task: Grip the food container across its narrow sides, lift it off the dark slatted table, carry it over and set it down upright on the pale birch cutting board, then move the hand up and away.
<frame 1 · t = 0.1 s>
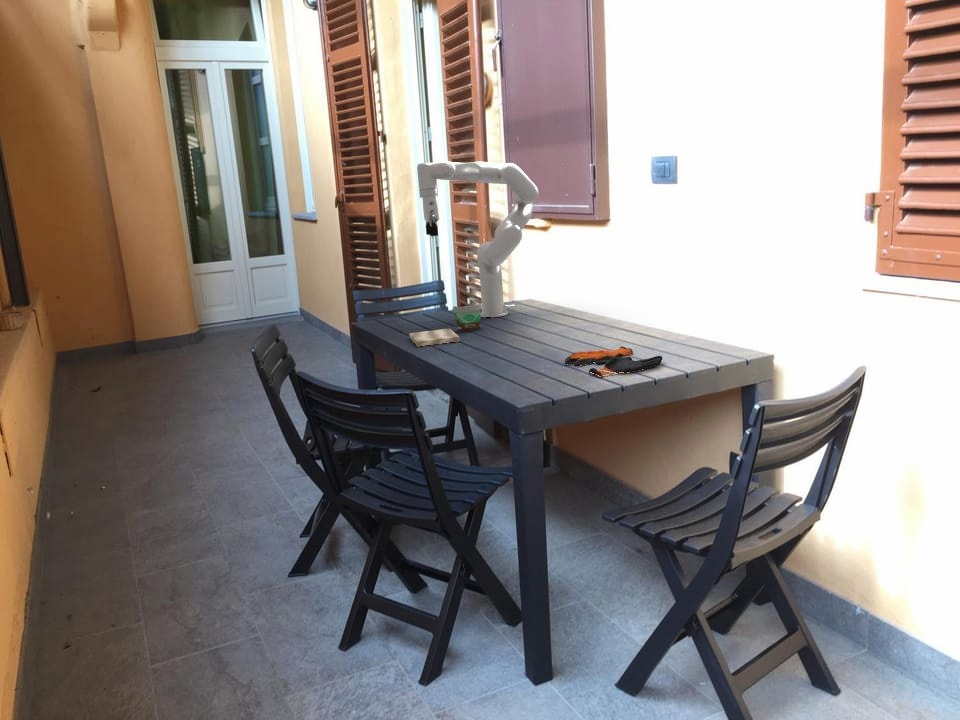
hand: (432, 235, 327), 37 cm above the table, tool pointing down, fingers open, 9 cm apart
food container: (471, 330, 313), on the table
pair of gloves: (612, 365, 244), on the table
birch board: (434, 340, 299), on the table
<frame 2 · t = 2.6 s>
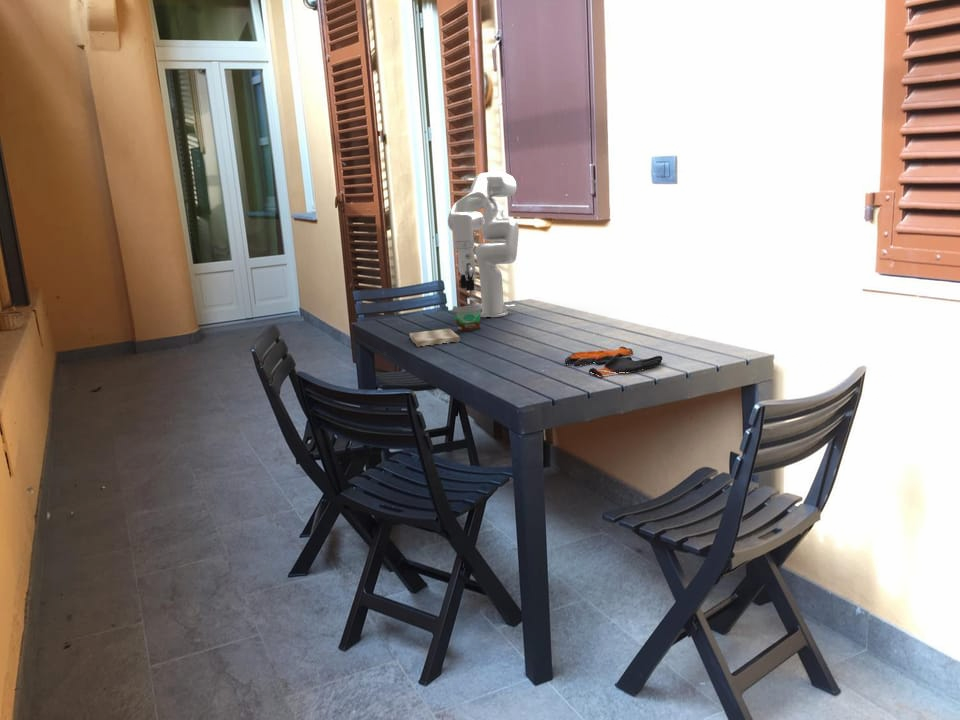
hand: (467, 289, 309), 17 cm above the table, tool pointing down, fingers open, 9 cm apart
nothing on the table moved.
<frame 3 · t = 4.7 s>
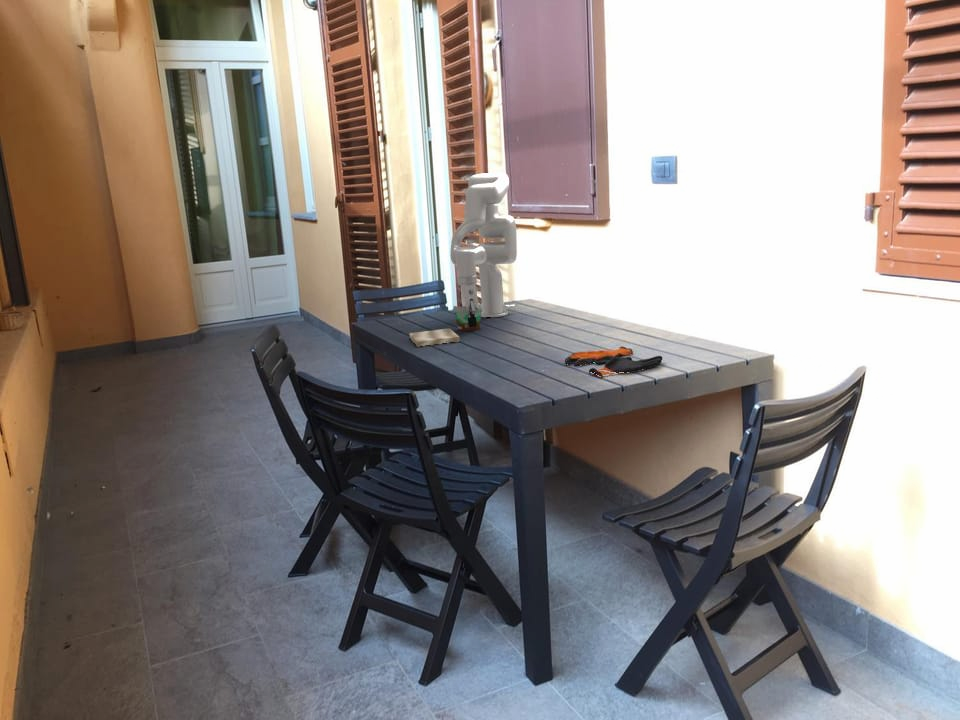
hand: (470, 325, 313), 2 cm above the table, tool pointing down, fingers closed on food container, 5 cm apart
food container: (471, 330, 313), on the table, touching gripper
everything else where it was.
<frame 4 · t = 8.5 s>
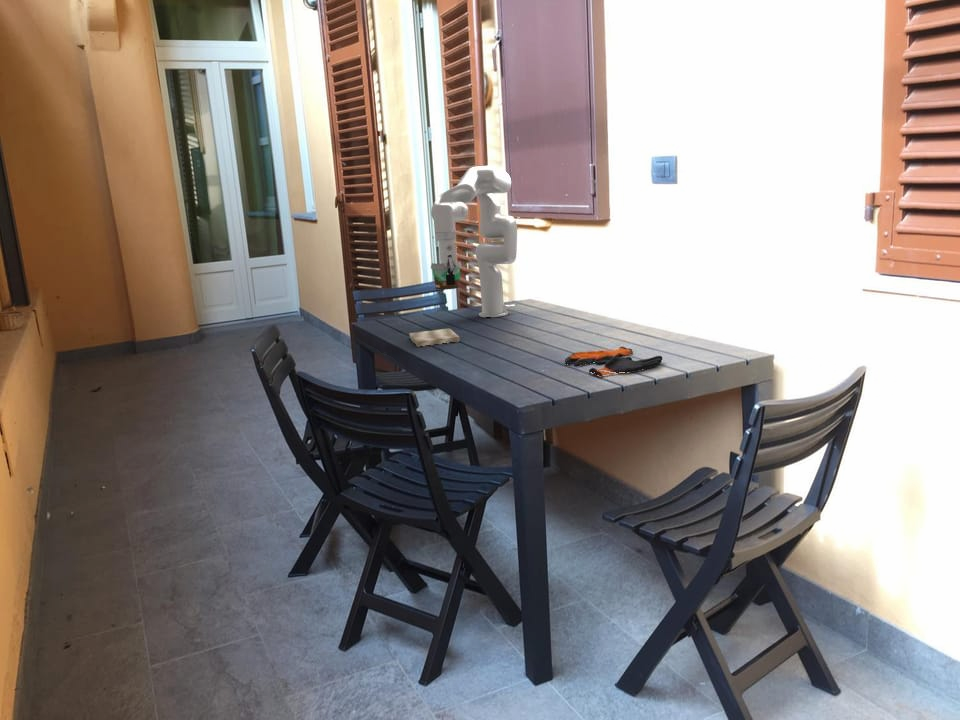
hand: (449, 283, 301), 20 cm above the table, tool pointing down, fingers closed on food container, 5 cm apart
food container: (449, 289, 301), point 18 cm above the table, touching gripper
everything else where it was.
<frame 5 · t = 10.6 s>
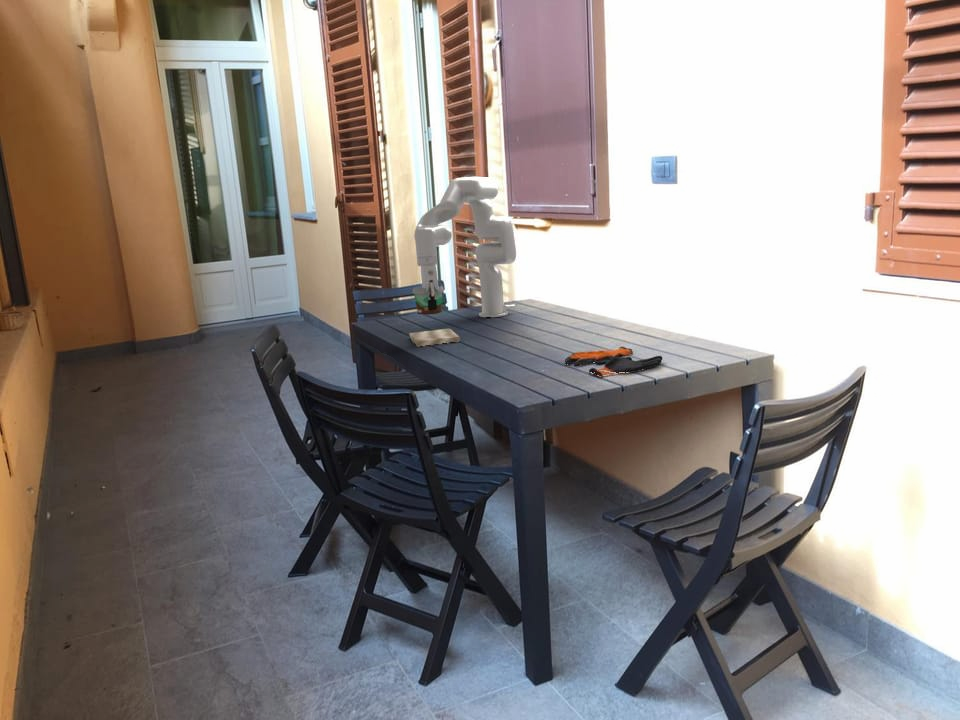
hand: (431, 308, 296), 12 cm above the table, tool pointing down, fingers closed on food container, 5 cm apart
food container: (431, 313, 296), point 10 cm above the table, touching gripper
everything else where it was.
when the fingers open (5 cm above the table, at t = 12.3 s): food container drops 1 cm, resting on birch board.
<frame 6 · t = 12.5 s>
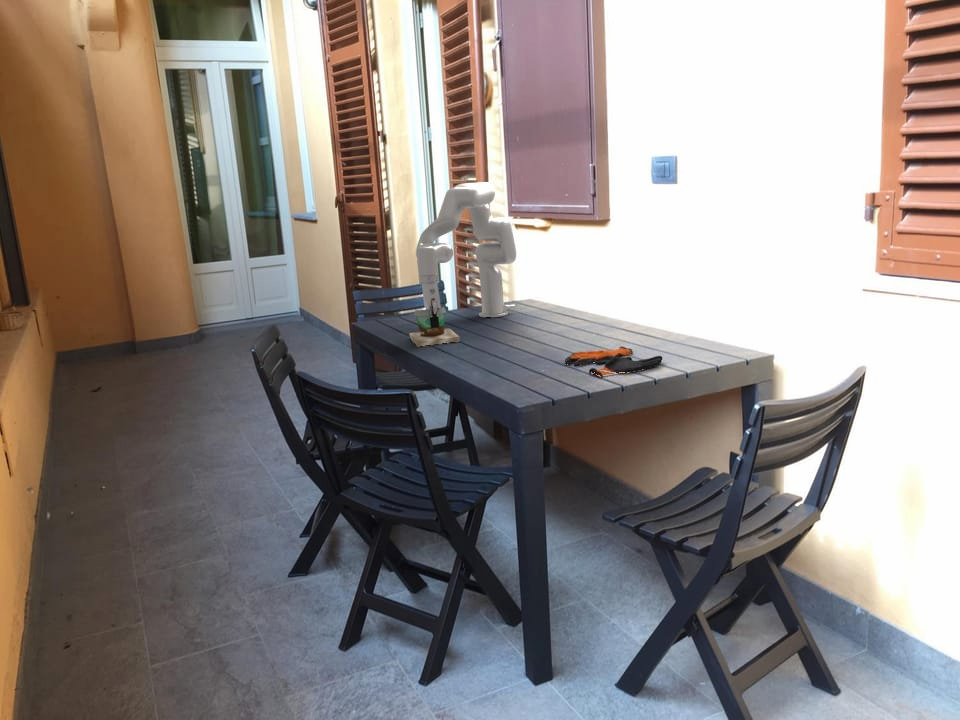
hand: (433, 325, 298), 6 cm above the table, tool pointing down, fingers open, 7 cm apart
food container: (434, 335, 297), point 2 cm above the table, touching birch board, gripper
everything else where it was.
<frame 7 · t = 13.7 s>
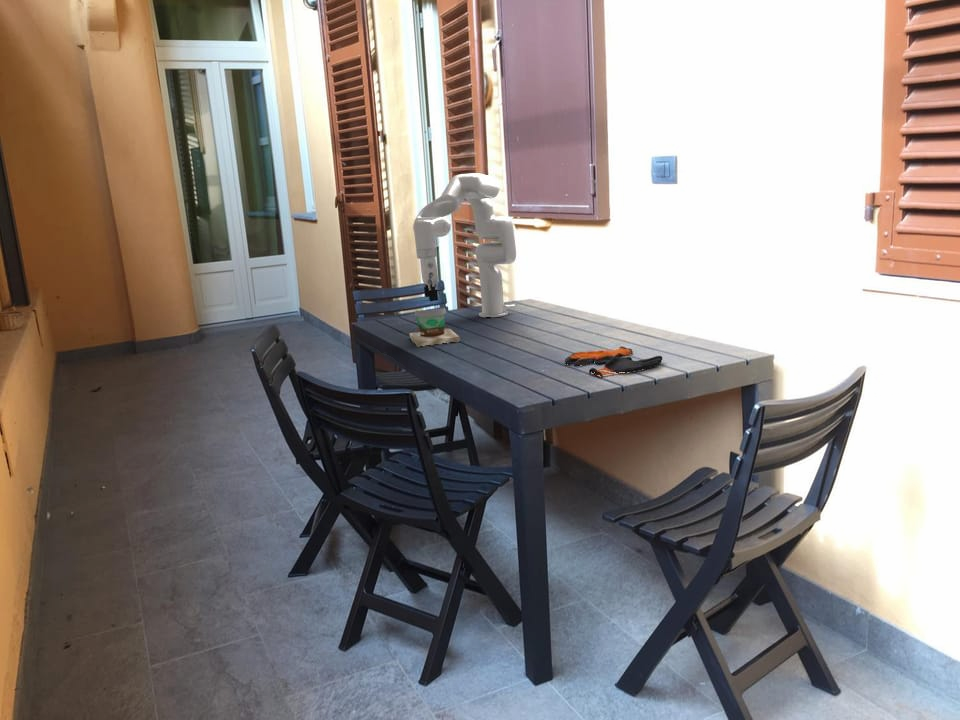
hand: (431, 298, 296), 16 cm above the table, tool pointing down, fingers open, 9 cm apart
food container: (434, 335, 297), point 2 cm above the table, touching birch board
everything else where it was.
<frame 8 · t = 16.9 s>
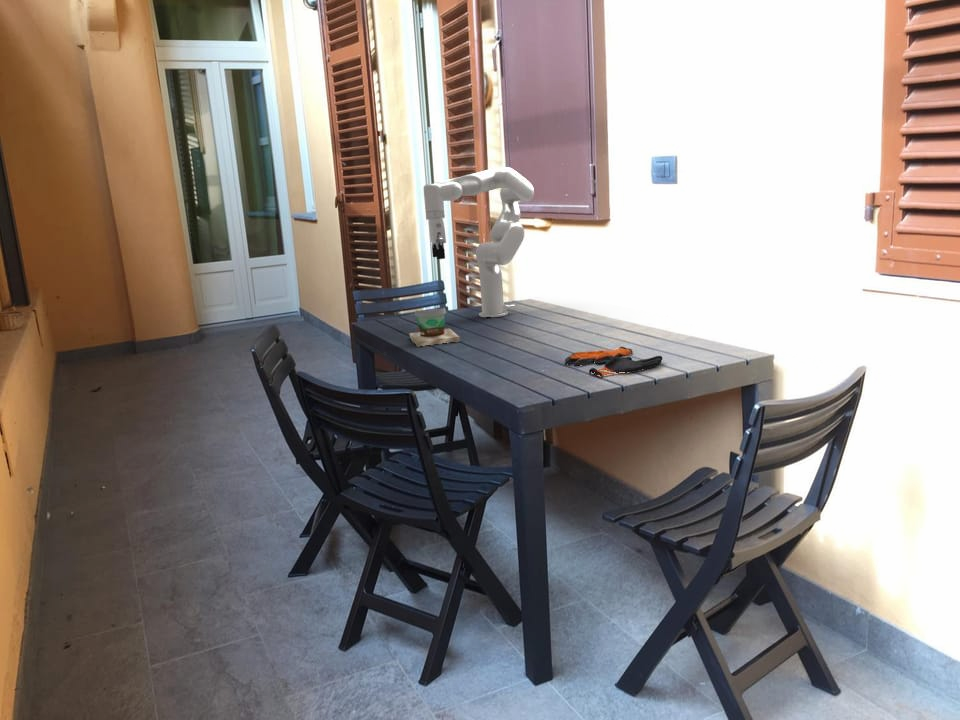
hand: (438, 257, 318), 28 cm above the table, tool pointing down, fingers open, 9 cm apart
nothing on the table moved.
at the end: food container inside the target area on the birch board (1.1 cm from its centre), point 1.8 cm above the birch board's base; food container tilted 0°; the gripper is holding nothing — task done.
